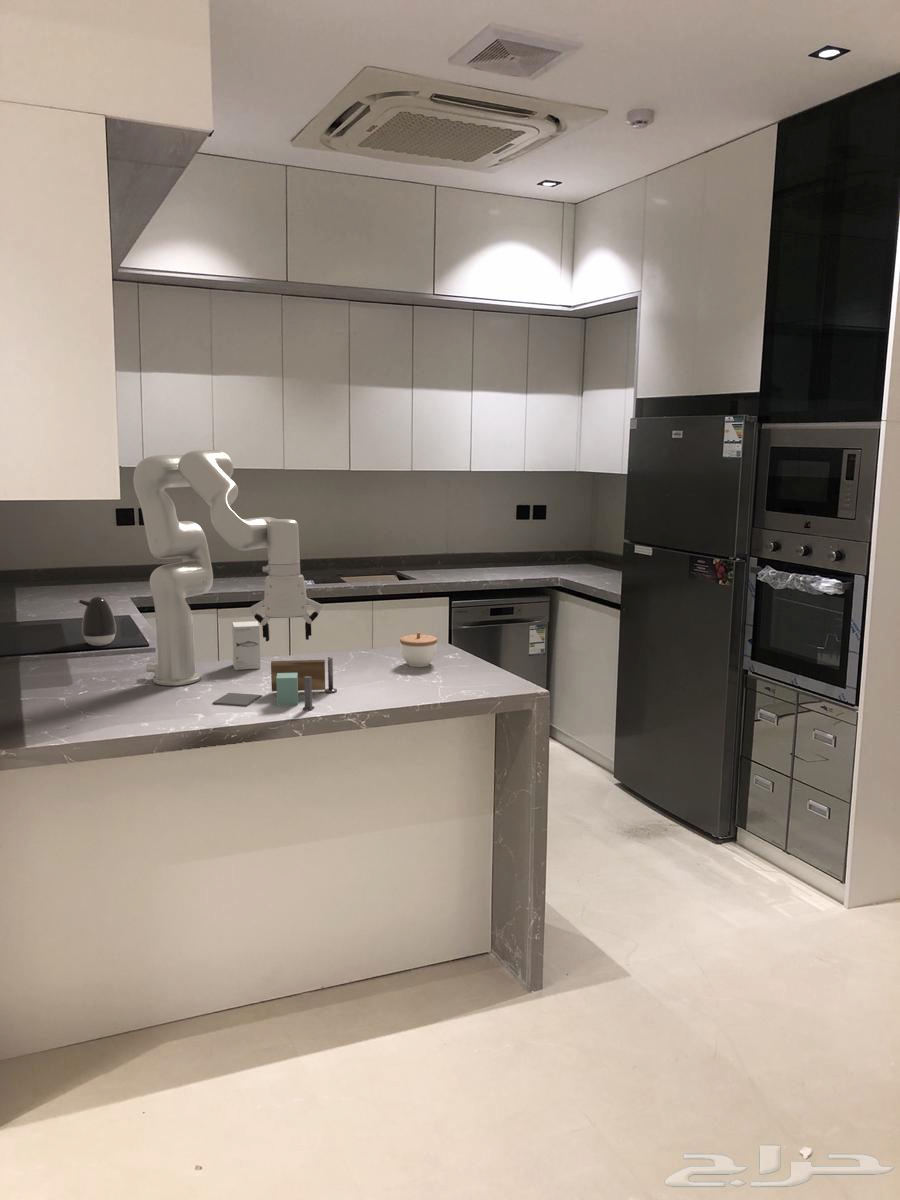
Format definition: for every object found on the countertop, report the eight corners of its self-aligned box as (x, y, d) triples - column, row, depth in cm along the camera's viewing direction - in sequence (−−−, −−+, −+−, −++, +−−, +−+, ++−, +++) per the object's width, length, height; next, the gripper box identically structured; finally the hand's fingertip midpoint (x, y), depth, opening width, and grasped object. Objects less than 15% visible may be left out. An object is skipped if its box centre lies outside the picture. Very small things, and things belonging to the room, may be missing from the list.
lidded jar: (395, 667, 272) (395, 635, 270) (406, 659, 282) (405, 628, 280) (431, 670, 269) (431, 637, 268) (441, 661, 280) (441, 629, 278)
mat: (212, 703, 236) (212, 702, 236) (228, 694, 244) (228, 692, 244) (246, 706, 234) (246, 704, 234) (261, 696, 242) (261, 694, 242)
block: (277, 705, 235) (276, 678, 233) (278, 700, 239) (277, 673, 238) (297, 705, 235) (297, 677, 234) (298, 699, 240) (297, 672, 239)
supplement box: (234, 670, 268) (232, 626, 266) (233, 664, 275) (231, 621, 273) (261, 669, 270) (259, 625, 268) (259, 663, 277) (257, 620, 275)
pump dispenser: (83, 641, 303) (79, 594, 300) (117, 639, 306) (114, 593, 304) (81, 648, 294) (77, 600, 291) (116, 646, 297) (113, 598, 294)
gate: (272, 689, 246) (271, 661, 245) (325, 687, 248) (324, 659, 247) (271, 691, 244) (270, 663, 243) (325, 689, 246) (324, 661, 245)
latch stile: (302, 709, 231) (301, 677, 230) (305, 707, 233) (305, 675, 232) (311, 710, 231) (310, 678, 229) (314, 707, 233) (313, 676, 231)
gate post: (322, 692, 246) (322, 658, 244) (327, 689, 249) (326, 655, 248) (334, 693, 245) (333, 659, 244) (338, 690, 248) (338, 656, 247)
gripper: (247, 573, 227) (250, 644, 229) (320, 571, 229) (323, 641, 232) (249, 569, 234) (252, 637, 237) (320, 567, 236) (323, 635, 239)
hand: (287, 639), depth 234 cm, fingers open, 9 cm apart
